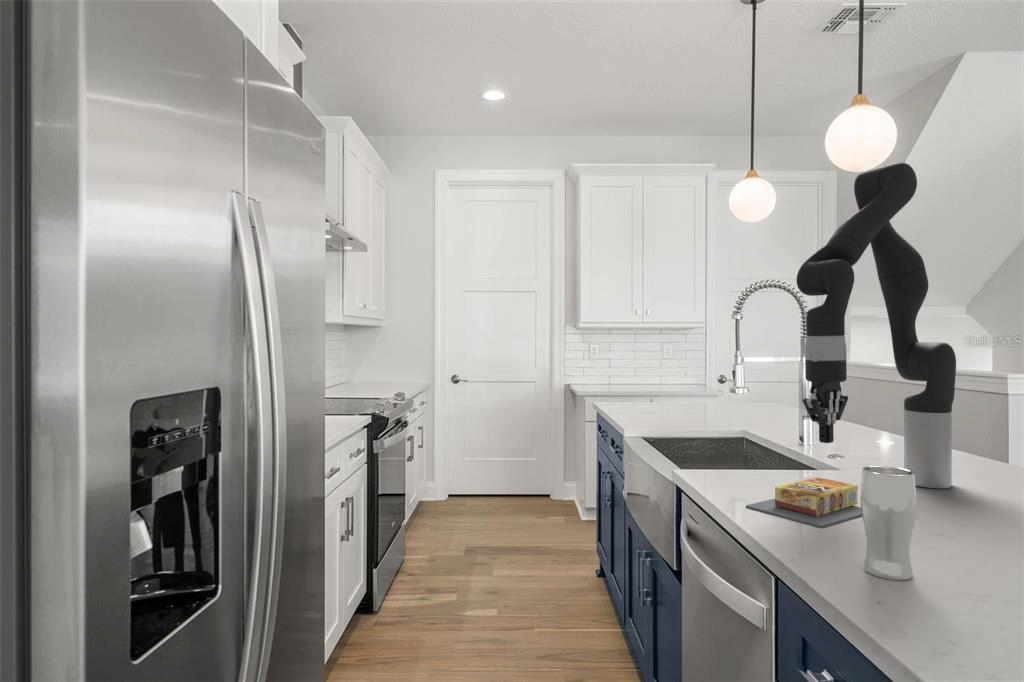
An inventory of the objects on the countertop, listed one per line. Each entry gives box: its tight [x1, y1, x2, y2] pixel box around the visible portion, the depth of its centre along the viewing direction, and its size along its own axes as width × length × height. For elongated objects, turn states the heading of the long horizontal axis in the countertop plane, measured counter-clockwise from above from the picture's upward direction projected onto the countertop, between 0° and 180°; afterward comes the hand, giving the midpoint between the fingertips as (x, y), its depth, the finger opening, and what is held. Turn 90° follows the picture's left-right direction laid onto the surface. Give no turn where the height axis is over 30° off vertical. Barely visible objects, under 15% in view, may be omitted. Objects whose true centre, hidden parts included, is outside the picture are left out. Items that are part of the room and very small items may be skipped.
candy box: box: [774, 476, 859, 517], centre depth 123 cm, size 9×4×15 cm
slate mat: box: [745, 498, 863, 529], centre depth 121 cm, size 18×16×1 cm
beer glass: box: [860, 465, 917, 581], centre depth 89 cm, size 7×7×15 cm
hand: (826, 442), depth 125 cm, fingers closed
